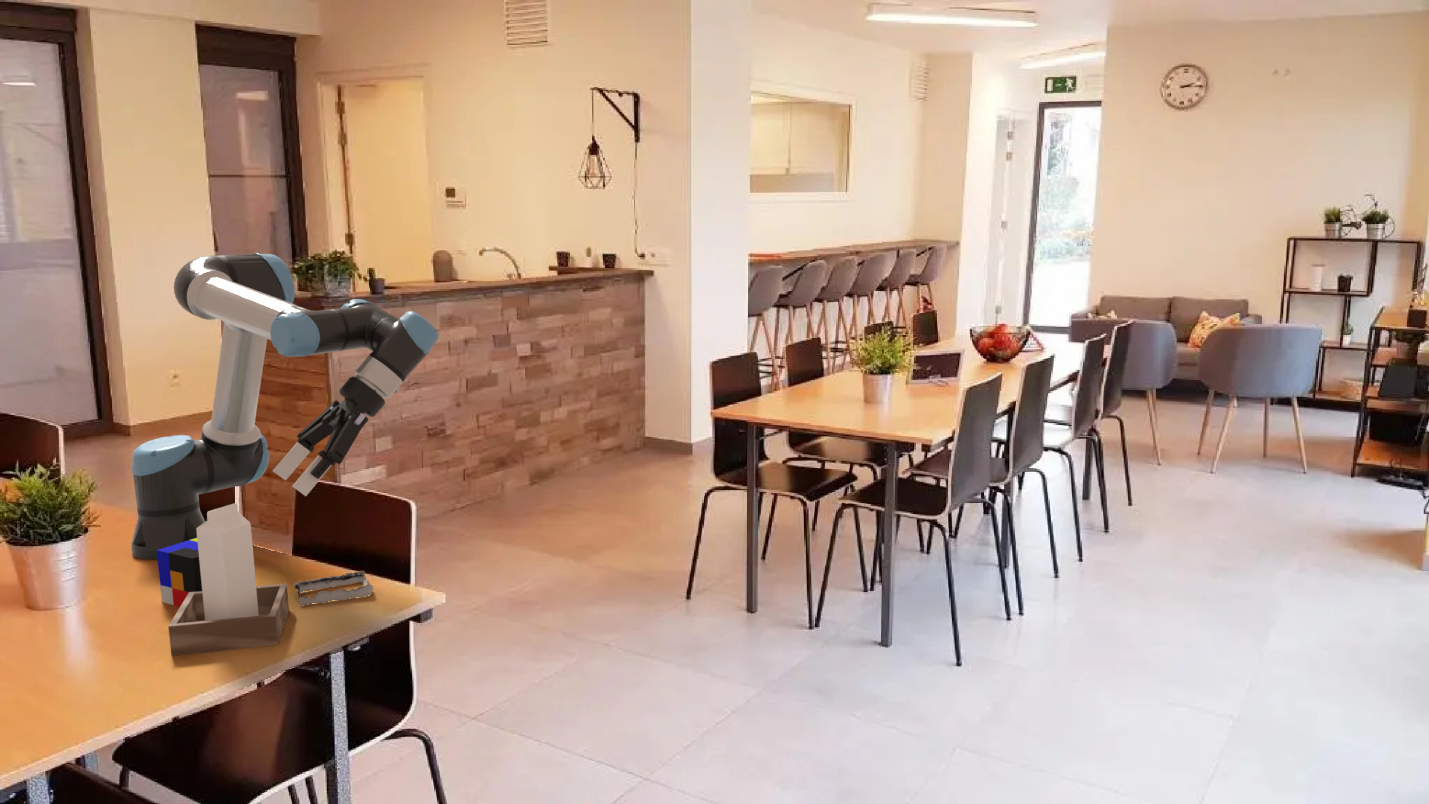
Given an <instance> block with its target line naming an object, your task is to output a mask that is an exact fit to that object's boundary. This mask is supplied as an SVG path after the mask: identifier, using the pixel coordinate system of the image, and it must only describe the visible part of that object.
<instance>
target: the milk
mask: <svg viewBox="0 0 1429 804" xmlns="http://www.w3.org/2000/svg"><path fill="white" fill-rule="evenodd" d="M196 530H197V541H198V551H199V562H200V572H201V582H202V593H203V603H204V614H205V620H204V621H209V620H219V619H230V618H241V617H251V616H260V615H259V614H258V603H257V591H256V586H257V582H256V579H257V578H256V572H255V571H256V570H255V559H254V549H253V546H254V545H253V535H252V533H253V532H252V524H251V522H250V521H249V520H248V519H247V518H246V517H245V516H243V515H242V514H241V513H240V512H239V510H238V504H237V503H232V504H227V505H225V506H222V507H217V508H214V509H212V510H209V511H208V510H207V513H206V521H205V523H203V524H202V525H200V526H199V527H197V528H196Z"/></svg>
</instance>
